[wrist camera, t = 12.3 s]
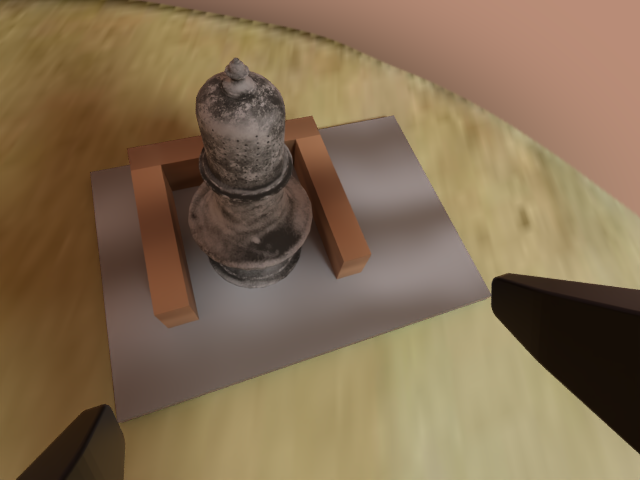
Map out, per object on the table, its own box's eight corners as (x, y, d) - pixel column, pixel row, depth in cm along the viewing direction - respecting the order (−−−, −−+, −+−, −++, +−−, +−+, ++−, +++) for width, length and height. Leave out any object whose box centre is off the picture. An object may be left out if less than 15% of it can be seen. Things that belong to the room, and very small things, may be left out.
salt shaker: (225, 188, 23) (183, -26, 12) (318, 216, 22) (360, 26, 12) (182, 274, 20) (76, 99, 9) (288, 308, 20) (305, 169, 9)
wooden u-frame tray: (486, 298, 22) (517, 280, 19) (122, 422, 17) (92, 422, 14) (391, 121, 27) (404, 87, 24) (94, 178, 23) (69, 143, 20)
